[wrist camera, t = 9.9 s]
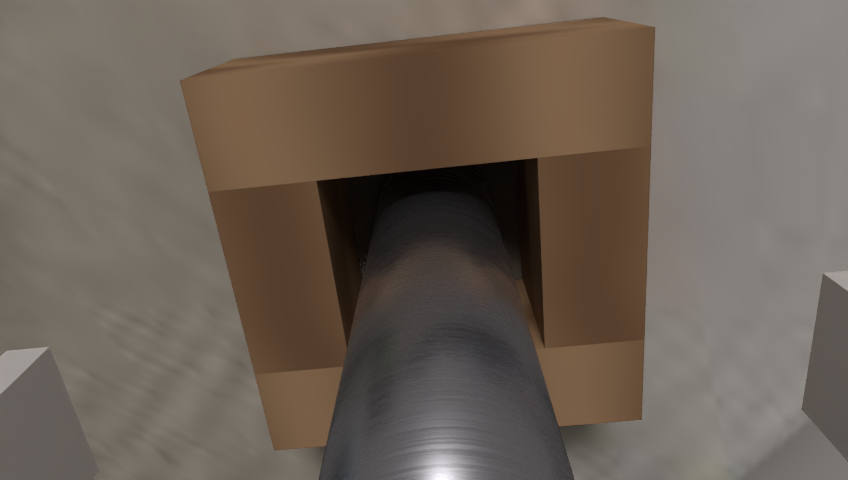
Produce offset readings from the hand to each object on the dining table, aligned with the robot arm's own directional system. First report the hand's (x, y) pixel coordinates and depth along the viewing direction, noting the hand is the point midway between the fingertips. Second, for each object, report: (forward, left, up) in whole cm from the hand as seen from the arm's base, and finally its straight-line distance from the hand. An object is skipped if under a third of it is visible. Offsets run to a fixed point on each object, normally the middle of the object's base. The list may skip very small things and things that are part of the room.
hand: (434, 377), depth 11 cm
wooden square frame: (0, 0, -8) cm, 8 cm away
